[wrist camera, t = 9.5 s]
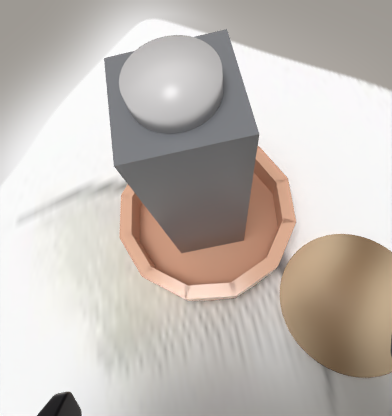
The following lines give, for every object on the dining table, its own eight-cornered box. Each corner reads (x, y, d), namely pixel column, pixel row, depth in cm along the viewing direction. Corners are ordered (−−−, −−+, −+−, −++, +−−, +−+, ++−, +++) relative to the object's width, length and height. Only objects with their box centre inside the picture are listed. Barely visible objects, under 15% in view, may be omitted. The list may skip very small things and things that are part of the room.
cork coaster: (417, 247, 21) (422, 245, 20) (424, 391, 18) (430, 394, 17) (285, 227, 22) (286, 224, 22) (272, 357, 20) (273, 358, 19)
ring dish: (308, 186, 23) (318, 167, 20) (247, 331, 20) (250, 333, 17) (176, 137, 26) (169, 115, 23) (106, 257, 23) (88, 248, 20)
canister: (243, 240, 21) (261, 117, 8) (181, 253, 21) (103, 152, 8) (229, 184, 23) (226, 7, 10) (172, 196, 23) (94, 38, 10)
